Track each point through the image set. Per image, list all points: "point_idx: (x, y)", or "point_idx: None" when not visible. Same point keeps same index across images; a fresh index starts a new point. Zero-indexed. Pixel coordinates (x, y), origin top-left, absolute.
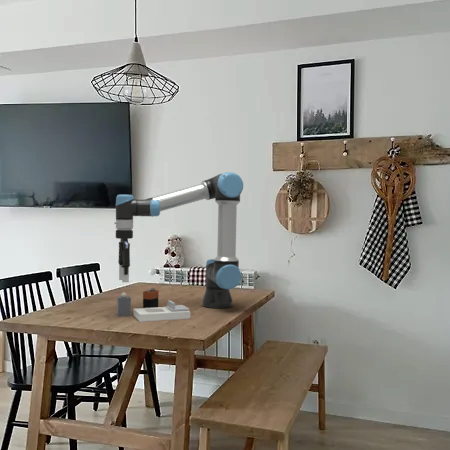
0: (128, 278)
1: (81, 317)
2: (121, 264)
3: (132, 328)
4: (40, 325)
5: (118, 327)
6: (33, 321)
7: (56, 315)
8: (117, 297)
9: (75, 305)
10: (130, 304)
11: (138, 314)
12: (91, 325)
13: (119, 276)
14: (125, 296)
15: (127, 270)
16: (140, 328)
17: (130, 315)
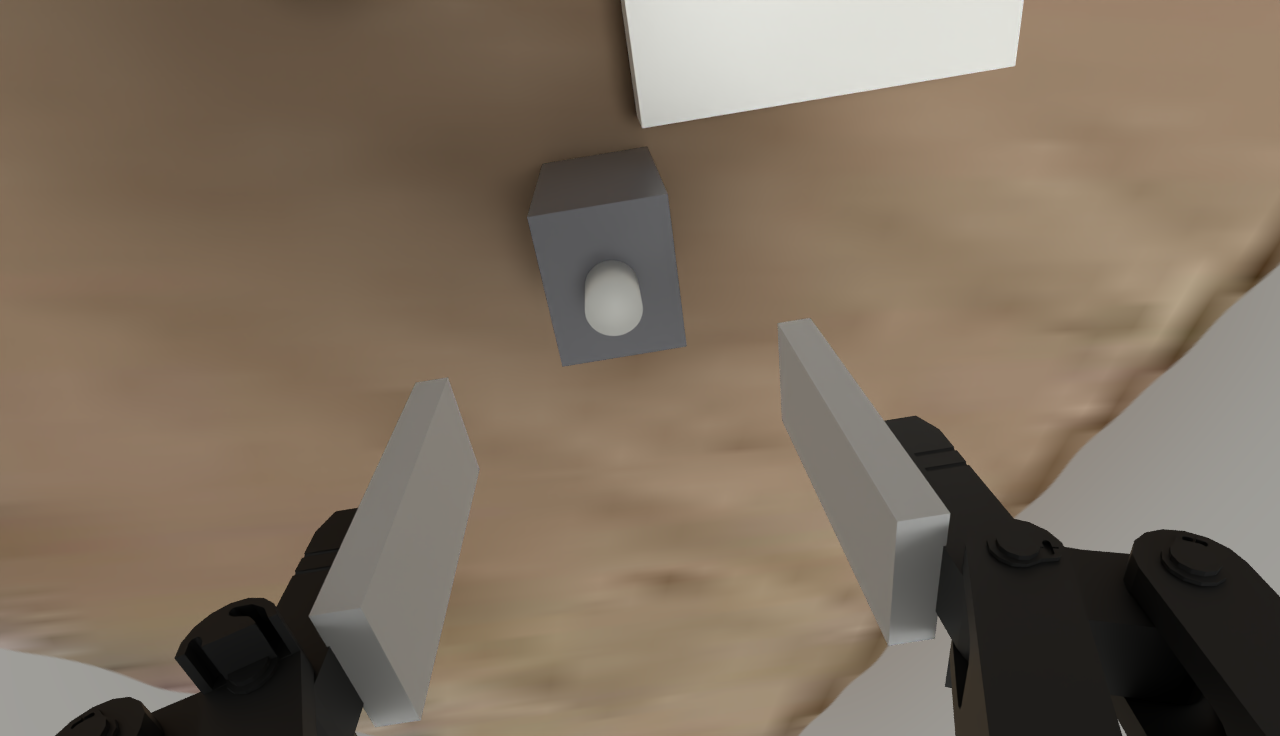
0: (835, 357)
1: (655, 519)
2: (344, 713)
3: (1210, 144)
4: (844, 670)
5: (1111, 259)
6: (725, 710)
7: (561, 648)
8: (621, 356)
9: (147, 601)
10: (658, 176)
11: (933, 77)
12: (953, 440)
13: (468, 511)
14: (625, 268)
15: (980, 487)
16: (1253, 68)
17: (647, 149)
